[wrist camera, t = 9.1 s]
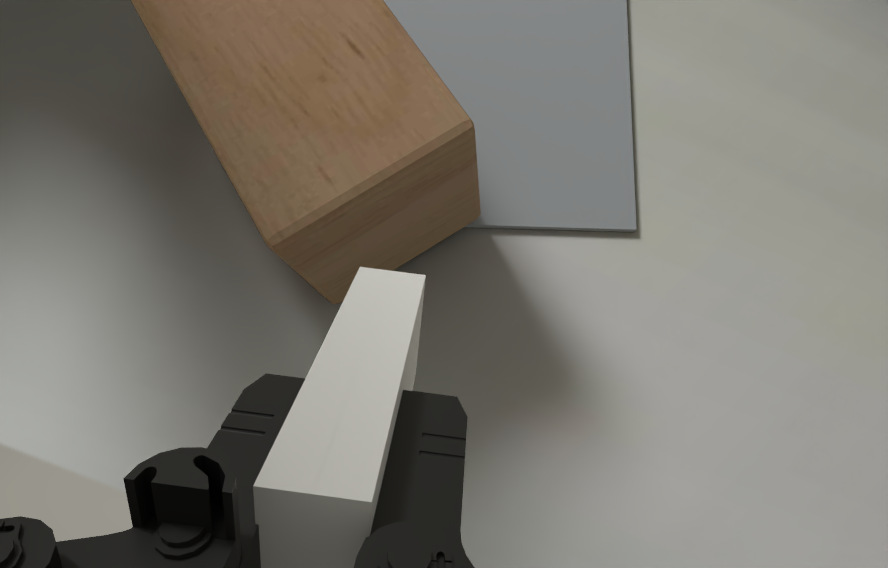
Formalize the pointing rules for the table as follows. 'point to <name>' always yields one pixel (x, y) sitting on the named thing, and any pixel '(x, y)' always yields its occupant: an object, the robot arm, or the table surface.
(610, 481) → the table surface
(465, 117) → the wooden block
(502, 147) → the grey mat
